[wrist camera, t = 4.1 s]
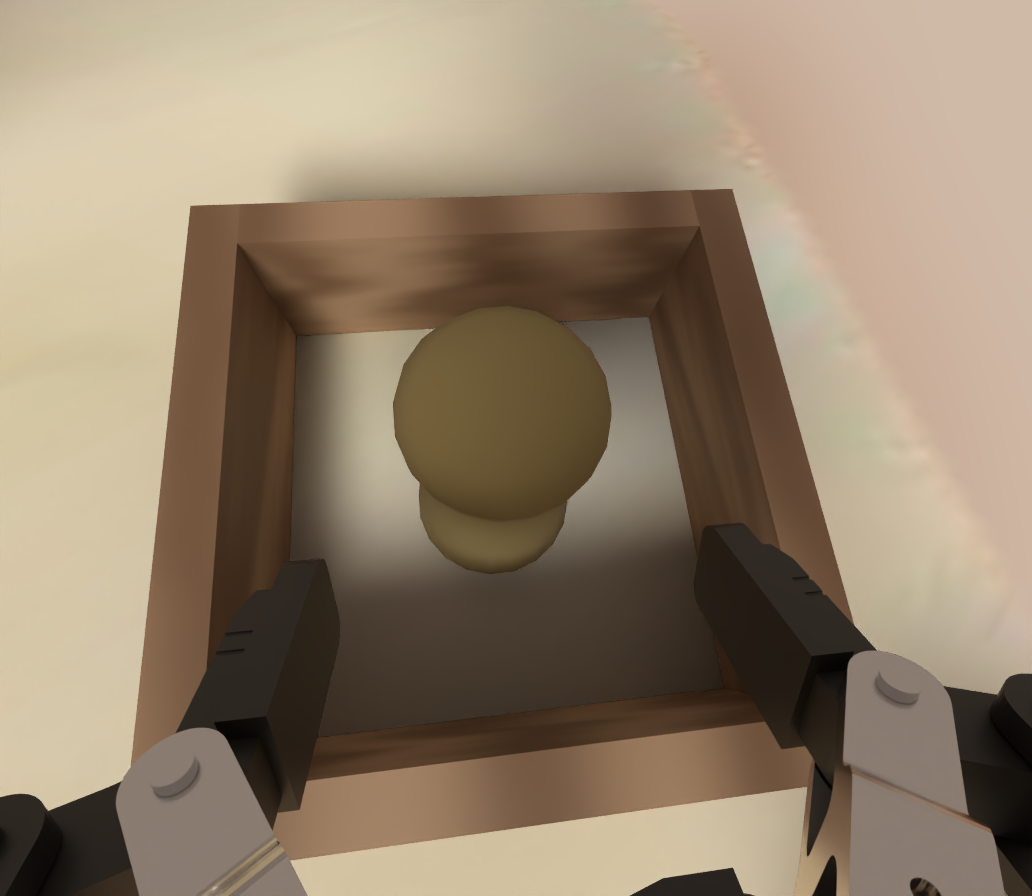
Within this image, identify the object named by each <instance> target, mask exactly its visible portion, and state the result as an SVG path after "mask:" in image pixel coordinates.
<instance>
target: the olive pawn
mask: <svg viewBox="0 0 1032 896" xmlns="http://www.w3.org/2000/svg"><path fill="white" fill-rule="evenodd" d="M393 411H394V428H395V437H396V440H397V442H398V444H399V447H400V449H401V451H402V454H403V456H404V458H405V461H406V463H407V466H408V468H409V470H410V472H411V473H412V475H413V476H414V477H415V478H416V479H417V480H418V481H419V482H420V489H419V503H420V517H421V520H422V522H423V525H424V527H425V530H426V532H427V534H428V537H429V539H430V540H431V541H432V543H433V544H434V545H435V546H436V547H437V548H438V549H439V551H440V552H441V553H442V554H443V555H444V556H445V557H446V558H448V559H449V560H451V561H453V562H455V563H456V564H458V565H460V566H462V567H463V568H465V569H468V570H473V571H478V572H483V573H488V574H494V573H502V572H510V571H515V570H517V569H519V568H521V567H523V566H526V565H528V564H530V563H532V562H534V561H536V560H537V559H538V558H539V557H540V556H541V555H542V554H543V553H544V552H545V551H546V550H547V549H548V548H549V547H550V546H551V545H552V544H553V543H554V541H555V539H556V537H557V535H558V533H559V531H560V529H561V527H562V525H563V523H564V517H565V510H566V504H567V500H568V499H569V498H570V497H571V496H572V495H573V494H574V493H575V492H576V491H577V490H578V489H580V488H581V487H582V486H583V485H584V484H585V483H586V482H587V481H588V480H589V478H590V477H591V476H592V474H593V472H594V471H595V469H596V467H597V465H598V463H599V461H600V459H601V457H602V455H603V453H604V451H605V449H606V447H607V442H608V435H609V428H610V421H611V402H610V397H609V392H608V387H607V382H606V377H605V375H604V373H603V371H602V369H601V367H600V366H599V364H598V362H597V360H596V359H595V357H594V355H593V353H592V351H591V350H590V348H589V347H587V346H586V345H585V344H584V343H583V342H582V341H581V340H580V339H579V338H578V337H577V336H576V335H575V334H574V333H573V332H572V331H571V330H569V329H568V328H567V327H566V326H564V325H563V324H561V323H559V322H557V321H555V320H553V319H551V318H549V317H547V316H545V315H543V314H541V313H539V312H537V311H532V310H527V309H522V308H517V307H512V306H500V307H487V308H478V309H475V310H473V311H470V312H467V313H465V314H462V315H459V316H456V317H454V318H451V319H448V320H446V321H445V322H444V323H442V324H441V325H440V326H438V327H437V328H436V329H434V330H433V331H432V332H430V333H429V334H428V335H426V336H425V337H424V338H422V339H421V341H420V342H419V344H418V345H417V346H416V348H415V349H414V351H413V352H412V354H411V355H410V356H409V358H408V359H407V361H406V362H405V364H404V366H403V369H402V373H401V376H400V380H399V383H398V387H397V390H396V393H395V398H394V402H393Z"/></svg>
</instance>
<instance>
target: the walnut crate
mask: <svg viewBox="0 0 1032 896" xmlns="http://www.w3.org/2000/svg"><path fill="white" fill-rule="evenodd" d="M500 306H512V307H517V308H522V309H527V310H532V311H537V312H539V313H541V314H543V315H545V316H547V317H549V318H551V319H553V320H555V321H557V322H560V321H578V320H597V319H615V318H634V317H649V319H650V324H651V329H652V334H653V338H654V343H655V348H656V353H657V358H658V363H659V368H660V373H661V378H662V383H663V388H664V393H665V398H666V403H667V408H668V413H669V418H670V423H671V428H672V432H673V437H674V442H675V447H676V452H677V457H678V462H679V467H680V472H681V477H682V482H683V487H684V492H685V497H686V502H687V507H688V512H689V517H690V521H691V526H692V531H693V536H694V541H695V546H696V551H697V556H698V555H699V549H700V543H701V537H702V532H703V529H704V528H705V527H706V526H708V525H718V524H729V523H743V524H745V525H746V526H747V527H748V528H749V529H750V530H751V531H752V533H753V534H754V535H755V536H756V537H757V538H758V540H759V541H760V542H761V543H762V544H771V545H773V546H774V547H776V548H778V549H779V550H781V551H782V552H784V553H786V554H787V555H789V556H790V557H792V558H793V559H794V560H795V561H796V562H797V563H798V564H799V565H800V566H801V568H802V569H803V570H804V571H805V572H806V573H807V574H808V575H809V579H810V580H813V581H814V582H815V583H816V584H817V585H818V586H819V587H820V588H821V590H822V591H823V595H827V596H828V597H829V598H830V599H831V601H832V602H833V603H834V604H835V605H836V606H837V607H838V608H839V609H840V610H841V612H842V613H843V614H844V615H845V616H846V617H847V618H848V619H849V620H850V621H851V623H852V624H853V625H854V623H853V619H852V615H851V612H850V608H849V605H848V601H847V598H846V594H845V590H844V587H843V583H842V580H841V576H840V573H839V569H838V565H837V562H836V558H835V555H834V551H833V548H832V544H831V540H830V537H829V533H828V530H827V526H826V523H825V519H824V515H823V512H822V508H821V505H820V501H819V498H818V494H817V490H816V487H815V483H814V480H813V476H812V473H811V469H810V465H809V462H808V458H807V455H806V451H805V448H804V444H803V441H802V437H801V433H800V430H799V426H798V423H797V419H796V416H795V412H794V408H793V405H792V401H791V398H790V394H789V391H788V387H787V383H786V380H785V376H784V373H783V369H782V366H781V362H780V358H779V355H778V351H777V348H776V344H775V341H774V337H773V333H772V330H771V326H770V323H769V319H768V316H767V312H766V308H765V305H764V301H763V298H762V294H761V291H760V287H759V283H758V280H757V276H756V273H755V269H754V266H753V262H752V258H751V255H750V251H749V248H748V244H747V241H746V237H745V233H744V230H743V226H742V223H741V219H740V216H739V212H738V208H737V205H736V201H735V198H734V194H733V191H732V189H717V190H685V191H653V192H620V193H588V194H556V195H524V196H492V197H459V198H427V199H395V200H363V201H331V202H298V203H266V204H234V205H202V206H191V207H190V216H189V226H188V235H187V245H186V254H185V263H184V273H183V282H182V291H181V301H180V310H179V320H178V329H177V338H176V348H175V357H174V366H173V376H172V385H171V395H170V404H169V413H168V423H167V432H166V441H165V451H164V460H163V470H162V479H161V488H160V498H159V507H158V516H157V526H156V535H155V545H154V554H153V563H152V573H151V582H150V591H149V601H148V610H147V620H146V629H145V638H144V648H143V657H142V666H141V676H140V685H139V695H138V704H137V713H136V723H135V732H134V742H133V751H132V760H131V767H132V765H133V764H134V763H135V762H136V761H137V760H138V759H139V758H140V757H141V756H142V755H143V754H144V753H145V752H146V751H147V750H149V749H150V748H151V747H153V746H154V745H155V744H157V743H158V742H160V741H162V740H163V739H165V738H167V737H169V736H171V735H173V734H175V733H176V731H177V729H178V727H179V725H180V723H181V721H182V719H183V717H184V715H185V713H186V711H187V709H188V707H189V705H190V703H191V701H192V699H193V697H194V695H195V693H196V691H197V689H198V687H199V685H200V683H201V681H202V678H203V676H204V674H205V672H206V670H207V668H208V666H209V664H210V662H211V660H212V658H213V656H216V650H217V648H218V646H219V644H220V642H221V640H222V638H223V637H225V632H226V630H227V628H228V626H229V624H230V621H231V619H232V617H233V615H234V613H235V611H236V610H237V609H238V608H239V607H240V606H241V605H242V604H243V603H244V602H245V601H246V600H247V599H248V598H249V597H250V596H251V595H252V594H253V593H254V592H255V591H256V590H267V589H271V588H272V586H273V584H274V581H275V579H276V577H277V574H278V572H279V570H280V567H281V565H282V564H283V563H284V562H290V530H291V496H292V462H293V427H294V393H295V359H296V336H299V335H317V334H336V333H355V332H373V331H392V330H411V329H429V328H437V327H438V326H440V325H441V324H442V323H444V322H445V321H446V320H448V319H451V318H454V317H456V316H459V315H462V314H465V313H467V312H470V311H473V310H475V309H478V308H487V307H500ZM713 635H714V633H713ZM714 640H715V645H716V650H717V655H718V660H719V665H720V670H721V675H722V680H723V685H724V688H719V689H711V690H703V691H695V692H687V693H678V694H670V695H662V696H654V697H646V698H638V699H630V700H621V701H613V702H605V703H597V704H589V705H581V706H572V707H564V708H556V709H548V710H540V711H532V712H523V713H515V714H507V715H499V716H491V717H483V718H474V719H466V720H458V721H450V722H442V723H434V724H425V725H417V726H409V727H401V728H393V729H385V730H376V731H368V732H360V733H352V734H344V735H336V736H328V737H319V738H317V739H316V743H315V747H314V752H313V756H312V760H311V764H310V769H309V773H308V777H307V781H306V786H305V790H304V794H303V798H302V803H301V807H300V810H296V811H288V812H280V813H277V817H276V820H275V824H274V828H273V833H274V835H275V837H276V839H277V841H278V842H280V843H281V845H282V847H283V849H284V851H285V852H286V854H287V856H288V858H289V860H296V859H303V858H310V857H317V856H324V855H331V854H338V853H345V852H352V851H359V850H366V849H373V848H380V847H387V846H394V845H401V844H408V843H415V842H422V841H429V840H436V839H443V838H450V837H457V836H464V835H471V834H478V833H485V832H492V831H499V830H506V829H513V828H520V827H527V826H534V825H541V824H548V823H555V822H562V821H569V820H576V819H583V818H590V817H597V816H604V815H611V814H618V813H625V812H632V811H639V810H646V809H653V808H660V807H667V806H674V805H681V804H688V803H696V802H703V801H710V800H717V799H724V798H731V797H738V796H745V795H752V794H759V793H766V792H773V791H780V790H787V789H794V788H801V787H808V778H809V770H810V765H811V763H812V760H813V758H812V756H811V754H810V753H809V751H808V750H807V748H806V746H804V747H796V748H788V749H781V748H780V746H779V744H778V743H777V741H776V739H775V737H774V736H773V734H772V732H771V731H770V729H769V727H768V725H767V724H766V722H765V720H764V719H763V717H762V715H761V713H760V712H759V710H758V708H757V707H756V705H755V703H754V702H753V700H752V698H751V696H750V695H749V693H748V691H747V690H746V688H745V686H744V684H743V683H742V681H741V679H740V678H739V676H738V674H737V672H736V671H735V669H734V667H733V666H732V664H731V662H730V660H729V659H728V657H727V655H726V654H725V652H724V650H723V648H722V647H721V645H720V643H719V642H718V640H717V638H716V636H715V635H714Z"/></svg>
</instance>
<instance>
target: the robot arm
mask: <svg viewBox="0 0 1032 896" xmlns="http://www.w3.org/2000/svg"><path fill="white" fill-rule="evenodd" d="M694 591H695V597H696V601H697V604H698V606H699V609H700V611H701V613H702V614H703V616H704V618H705V619H706V621H707V623H708V624H709V626H710V628H711V630H712V631H713V633H714V635H715V636H716V638H717V640H718V642H719V643H720V645H721V647H722V648H723V650H724V652H725V654H726V655H727V657H728V659H729V660H730V662H731V664H732V666H733V667H734V669H735V671H736V672H737V674H738V676H739V678H740V679H741V681H742V683H743V684H744V686H745V688H746V690H747V691H748V693H749V695H750V696H751V698H752V700H753V702H754V703H755V705H756V707H757V708H758V710H759V712H760V713H761V715H762V717H763V719H764V720H765V722H766V724H767V725H768V727H769V729H770V731H771V732H772V734H773V736H774V737H775V739H776V741H777V743H778V744H779V746H780V748H781V749H788V748H796V747H804V746H806V748H807V750H808V751H809V753H810V754H811V756H812V758H813V760H812V763H811V765H810V770H809V778H808V787H807V797H806V806H805V816H804V826H803V835H802V845H801V854H800V863H799V870H798V876H797V881H796V885H795V889H794V893H793V896H1005V893H1004V891H1005V892H1006V893H1007V895H1008V896H1032V674H1016V675H1013V676H1011V677H1009V678H1008V679H1007V680H1006V681H1005V683H1004V684H1003V686H1002V688H1001V690H1000V691H999V693H998V695H995V694H988V693H982V692H976V691H970V690H963V689H957V688H951V687H945V686H942V684H941V683H940V682H939V681H938V680H937V679H936V678H935V677H934V676H933V675H931V674H930V673H929V672H928V671H926V670H925V669H923V668H922V667H921V666H919V665H917V664H915V663H914V662H912V661H910V660H908V659H906V658H903V657H901V656H898V655H895V654H892V653H888V652H882V651H877V650H876V649H875V648H874V647H873V646H872V645H871V643H870V642H869V641H868V640H867V639H866V638H865V637H864V636H863V635H862V634H861V632H860V631H859V630H858V629H857V628H856V627H855V626H854V625H853V624H852V623H851V621H850V620H849V619H848V618H847V617H846V616H845V615H844V614H843V613H842V612H841V610H840V609H839V608H838V607H837V606H836V605H835V604H834V603H833V602H832V601H831V599H830V598H829V597H828V596H827V595H823V591H822V590H821V588H820V587H819V586H818V585H817V584H816V583H815V582H814V581H813V580H810V579H809V575H808V574H807V573H806V572H805V571H804V570H803V569H802V568H801V566H800V565H799V564H798V563H797V562H796V561H795V560H794V559H793V558H792V557H790V556H789V555H787V554H786V553H784V552H782V551H781V550H779V549H778V548H776V547H774V546H773V545H771V544H762V543H761V542H760V541H759V540H758V538H757V537H756V536H755V535H754V534H753V533H752V531H751V530H750V529H749V528H748V527H747V526H746V525H745V524H743V523H729V524H718V525H708V526H706V527H705V528H704V529H703V532H702V537H701V543H700V549H699V555H698V561H697V567H696V573H695V579H694ZM339 635H340V624H339V615H338V611H337V606H336V602H335V598H334V594H333V589H332V585H331V581H330V577H329V572H328V568H327V565H326V562H325V560H324V559H313V560H302V561H291V562H284V563H283V564H282V565H281V567H280V570H279V572H278V574H277V577H276V579H275V581H274V584H273V586H272V588H271V589H267V590H256V591H255V592H254V593H253V594H252V595H251V596H250V597H249V598H248V599H247V600H246V601H245V602H244V603H243V604H242V605H241V606H240V607H239V608H238V609H237V610H236V611H235V613H234V615H233V617H232V619H231V621H230V624H229V626H228V628H227V630H226V632H225V637H223V638H222V640H221V642H220V644H219V646H218V648H217V650H216V656H213V658H212V660H211V662H210V664H209V666H208V668H207V670H206V672H205V674H204V676H203V678H202V681H201V683H200V685H199V687H198V689H197V691H196V693H195V695H194V697H193V699H192V701H191V703H190V705H189V707H188V709H187V711H186V713H185V715H184V717H183V719H182V721H181V723H180V725H179V727H178V729H177V731H176V733H175V734H173V735H171V736H169V737H167V738H165V739H163V740H162V741H160V742H158V743H157V744H155V745H154V746H153V747H151V748H150V749H149V750H147V751H146V752H145V753H144V754H143V755H142V756H141V757H140V758H139V759H138V760H137V761H136V762H135V763H134V764H133V765H132V767H131V768H130V769H129V770H128V772H127V773H126V775H125V776H124V778H123V780H122V781H121V782H119V783H117V784H115V785H112V786H110V787H108V788H105V789H103V790H100V791H98V792H95V793H93V794H90V795H88V796H85V797H83V798H80V799H77V800H75V801H72V802H70V803H67V804H65V805H62V806H60V807H57V808H55V809H52V810H50V811H48V810H47V809H46V807H45V806H44V805H43V803H42V802H41V801H40V800H39V799H38V798H36V797H35V796H32V795H29V794H13V795H8V796H4V797H0V896H307V894H306V892H305V890H304V888H303V886H302V884H301V882H300V880H299V878H298V876H297V874H296V872H295V870H294V868H293V866H292V864H291V862H290V860H289V858H288V856H287V854H286V852H285V851H284V849H283V847H282V845H281V843H280V842H278V841H277V839H276V837H275V835H274V833H273V828H274V824H275V820H276V817H277V813H280V812H288V811H296V810H300V807H301V803H302V798H303V794H304V790H305V786H306V781H307V777H308V773H309V769H310V764H311V760H312V756H313V752H314V747H315V743H316V739H317V735H318V730H319V726H320V722H321V718H322V713H323V709H324V705H325V700H326V696H327V692H328V688H329V683H330V679H331V675H332V671H333V666H334V662H335V658H336V654H337V649H338V645H339ZM630 896H754V895H751V894H745V893H743V891H742V889H741V886H740V884H739V881H738V879H737V877H736V874H735V872H734V869H733V868H728V869H722V870H715V871H708V872H702V873H695V874H688V875H682V876H675V877H668V878H663V879H661V880H659V881H657V882H655V883H653V884H651V885H649V886H648V887H646V888H644V889H642V890H640V891H638V892H636V893H634V894H632V895H630Z"/></svg>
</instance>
